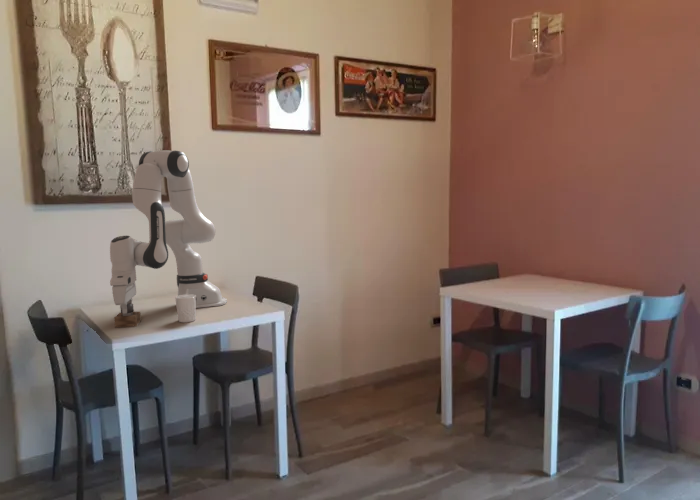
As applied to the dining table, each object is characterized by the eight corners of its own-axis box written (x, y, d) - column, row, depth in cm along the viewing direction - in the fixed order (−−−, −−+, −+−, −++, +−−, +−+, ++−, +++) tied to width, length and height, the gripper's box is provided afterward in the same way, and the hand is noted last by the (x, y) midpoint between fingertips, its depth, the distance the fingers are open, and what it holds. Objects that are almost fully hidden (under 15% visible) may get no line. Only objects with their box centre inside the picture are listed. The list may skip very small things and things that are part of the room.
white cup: (179, 318, 233) (177, 294, 232) (198, 317, 234) (197, 293, 233) (175, 323, 226) (173, 298, 224) (195, 322, 226) (193, 297, 225)
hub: (140, 321, 231) (140, 311, 231) (136, 326, 223) (135, 315, 223) (120, 322, 230) (119, 312, 230) (115, 327, 222) (114, 317, 222)
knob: (135, 317, 229) (134, 302, 228) (132, 320, 225) (131, 305, 224) (123, 318, 229) (121, 303, 228) (120, 321, 224) (118, 306, 223)
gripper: (122, 273, 234) (125, 305, 236) (108, 282, 214) (112, 317, 216) (138, 272, 235) (141, 304, 237) (126, 281, 215) (129, 316, 217)
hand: (127, 311), depth 226 cm, fingers closed on knob, 5 cm apart
